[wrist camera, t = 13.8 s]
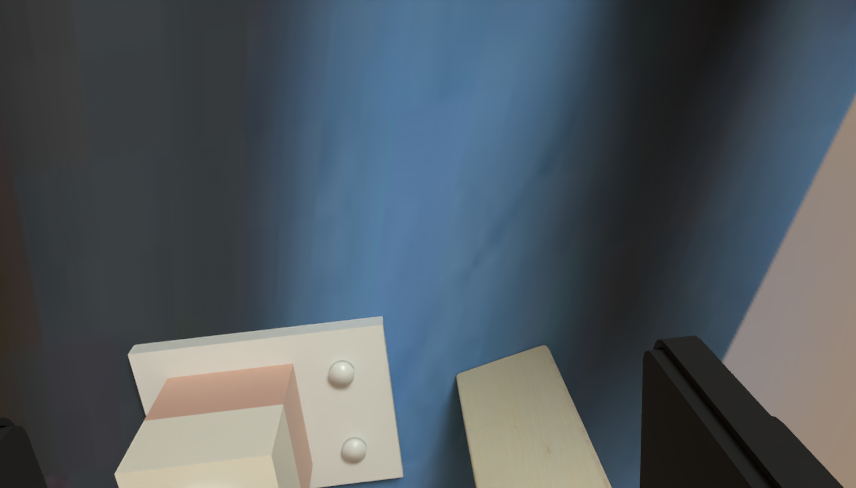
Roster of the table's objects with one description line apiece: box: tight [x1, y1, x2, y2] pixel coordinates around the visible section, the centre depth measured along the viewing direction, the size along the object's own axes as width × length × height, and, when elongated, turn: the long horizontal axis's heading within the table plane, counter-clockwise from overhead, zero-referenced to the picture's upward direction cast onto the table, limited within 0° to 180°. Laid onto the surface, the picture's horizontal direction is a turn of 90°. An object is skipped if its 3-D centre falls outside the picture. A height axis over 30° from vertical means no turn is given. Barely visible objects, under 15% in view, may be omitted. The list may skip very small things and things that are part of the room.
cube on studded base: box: [115, 316, 403, 488], centre depth 40 cm, size 16×12×10 cm
